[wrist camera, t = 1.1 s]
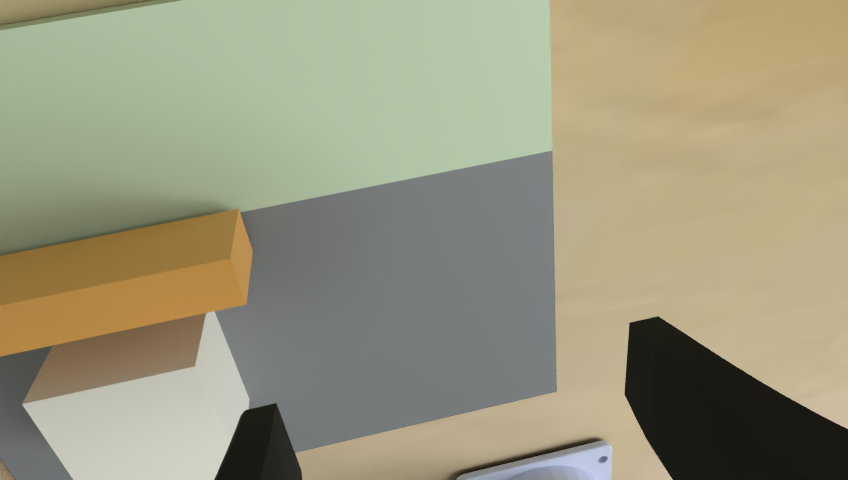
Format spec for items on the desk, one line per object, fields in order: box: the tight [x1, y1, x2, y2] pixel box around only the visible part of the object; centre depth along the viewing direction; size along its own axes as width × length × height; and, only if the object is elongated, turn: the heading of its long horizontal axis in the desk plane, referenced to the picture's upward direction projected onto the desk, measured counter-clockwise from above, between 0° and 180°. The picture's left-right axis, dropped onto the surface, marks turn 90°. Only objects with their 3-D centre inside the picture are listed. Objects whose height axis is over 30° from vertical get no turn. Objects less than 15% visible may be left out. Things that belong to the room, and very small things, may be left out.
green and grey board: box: [0, 0, 557, 480], centre depth 21 cm, size 18×22×1 cm
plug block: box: [22, 311, 250, 480], centre depth 21 cm, size 5×5×4 cm
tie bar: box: [0, 209, 253, 356], centre depth 18 cm, size 2×9×3 cm, turn 97°
